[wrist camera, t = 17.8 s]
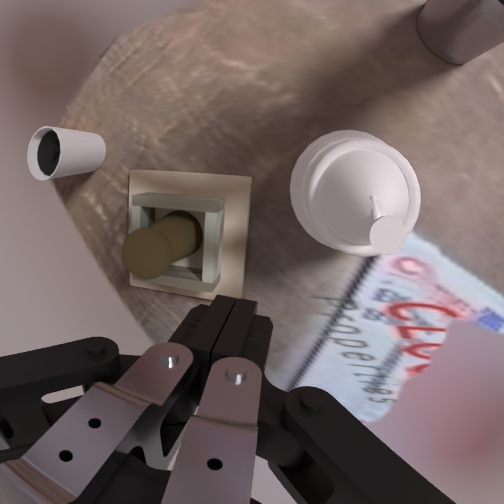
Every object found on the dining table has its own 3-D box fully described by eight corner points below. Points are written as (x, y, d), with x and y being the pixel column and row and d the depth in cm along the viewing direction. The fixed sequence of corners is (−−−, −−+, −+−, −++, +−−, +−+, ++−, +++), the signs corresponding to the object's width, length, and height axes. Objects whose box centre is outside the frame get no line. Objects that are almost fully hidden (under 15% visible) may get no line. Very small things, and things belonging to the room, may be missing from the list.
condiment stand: (134, 169, 39) (113, 170, 34) (253, 176, 37) (245, 178, 32) (134, 282, 43) (115, 295, 38) (242, 300, 41) (233, 318, 36)
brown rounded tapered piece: (170, 263, 40) (128, 295, 30) (151, 220, 39) (103, 240, 28) (210, 248, 39) (177, 277, 28) (191, 202, 38) (150, 216, 27)
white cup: (93, 120, 38) (46, 114, 28) (116, 152, 39) (69, 152, 29) (67, 153, 40) (21, 154, 30) (88, 184, 40) (42, 192, 31)
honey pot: (403, 229, 36) (473, 277, 18) (304, 250, 38) (306, 318, 21) (382, 126, 33) (445, 95, 16) (279, 147, 35) (259, 128, 18)
